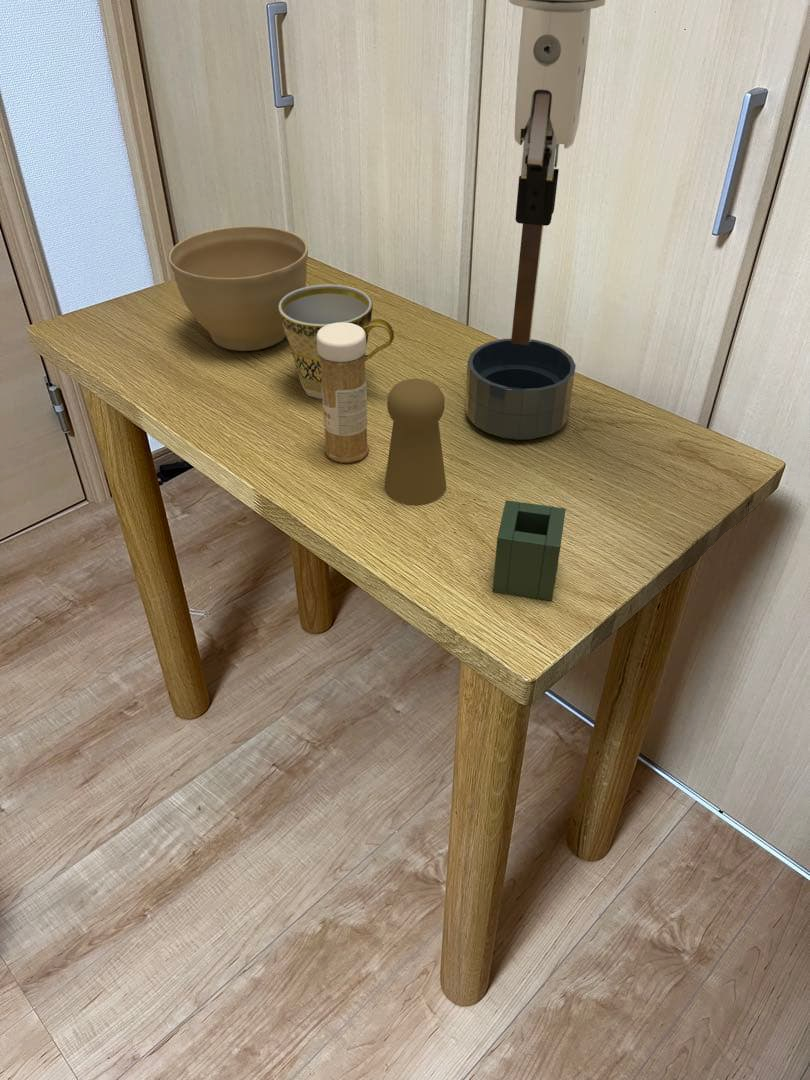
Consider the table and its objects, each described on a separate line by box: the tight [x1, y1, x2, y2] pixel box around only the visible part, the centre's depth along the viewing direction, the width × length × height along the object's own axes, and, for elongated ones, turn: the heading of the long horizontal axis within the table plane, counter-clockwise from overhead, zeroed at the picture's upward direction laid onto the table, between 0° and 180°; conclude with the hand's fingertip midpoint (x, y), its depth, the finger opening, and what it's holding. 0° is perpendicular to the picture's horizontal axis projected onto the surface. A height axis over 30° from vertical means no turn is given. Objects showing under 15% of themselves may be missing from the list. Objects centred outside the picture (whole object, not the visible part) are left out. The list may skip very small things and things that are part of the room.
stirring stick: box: [510, 151, 549, 345], centre depth 80 cm, size 2×2×18 cm
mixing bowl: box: [464, 338, 577, 441], centre depth 90 cm, size 11×11×6 cm
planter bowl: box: [168, 225, 309, 352], centre depth 103 cm, size 16×16×11 cm
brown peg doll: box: [383, 378, 447, 506], centre depth 79 cm, size 6×6×11 cm
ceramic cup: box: [279, 283, 395, 400], centre depth 93 cm, size 13×10×10 cm
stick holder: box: [491, 499, 566, 602], centre depth 71 cm, size 5×5×6 cm
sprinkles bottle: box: [317, 322, 370, 464], centre depth 82 cm, size 5×5×14 cm
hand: (534, 216), depth 78 cm, fingers closed on stirring stick, 1 cm apart
